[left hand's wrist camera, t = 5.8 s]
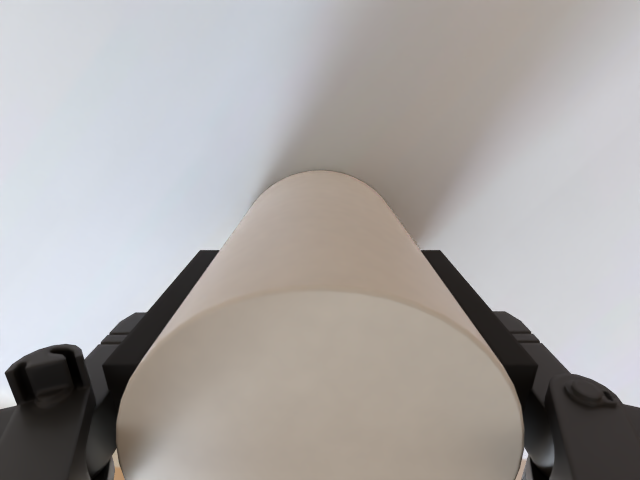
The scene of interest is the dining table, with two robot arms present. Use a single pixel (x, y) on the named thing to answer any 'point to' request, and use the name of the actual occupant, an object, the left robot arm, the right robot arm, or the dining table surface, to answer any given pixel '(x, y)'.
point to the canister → (320, 357)
